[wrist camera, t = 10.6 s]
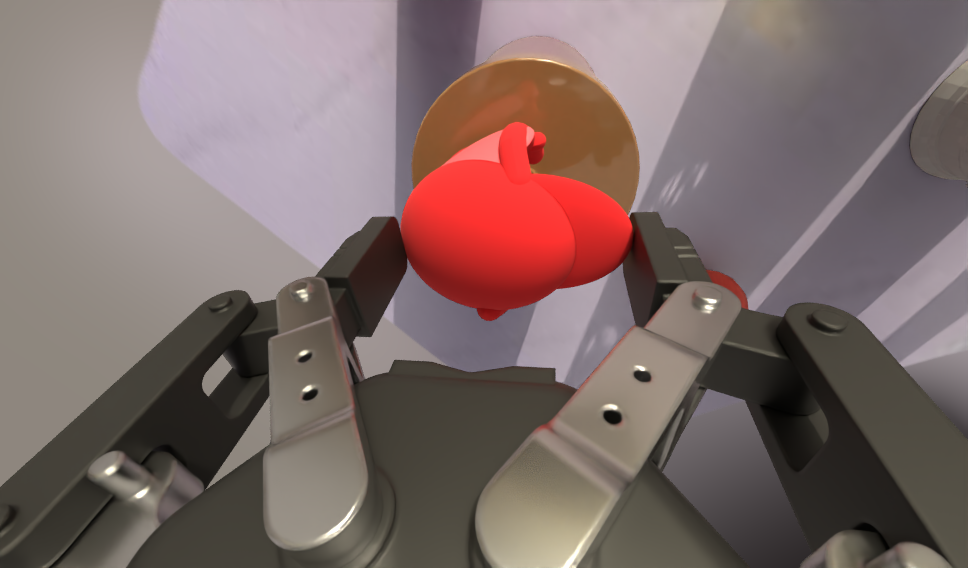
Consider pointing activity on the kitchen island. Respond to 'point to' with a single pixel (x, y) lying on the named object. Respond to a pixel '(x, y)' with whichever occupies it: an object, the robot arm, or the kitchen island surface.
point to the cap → (509, 226)
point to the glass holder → (944, 129)
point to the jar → (537, 117)
